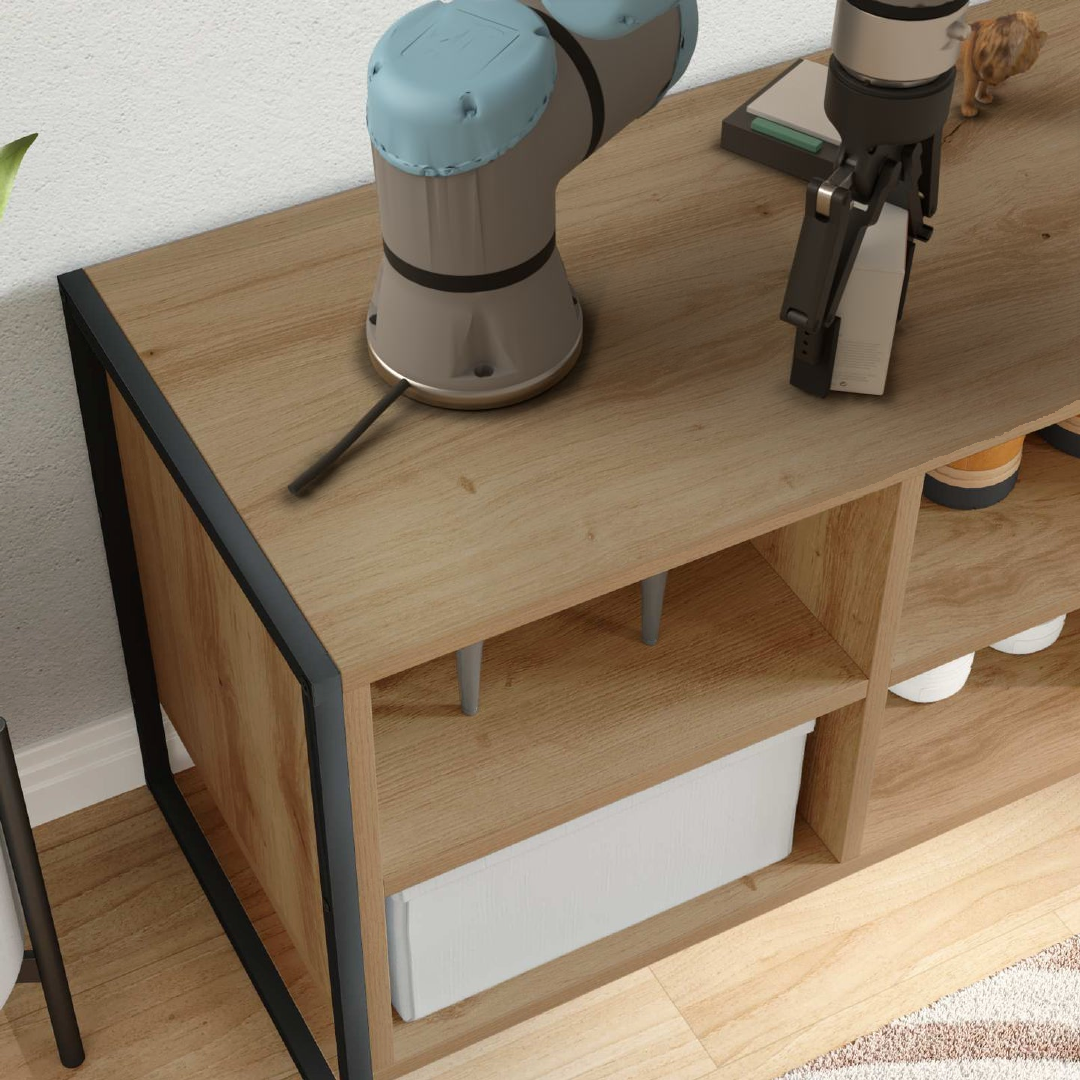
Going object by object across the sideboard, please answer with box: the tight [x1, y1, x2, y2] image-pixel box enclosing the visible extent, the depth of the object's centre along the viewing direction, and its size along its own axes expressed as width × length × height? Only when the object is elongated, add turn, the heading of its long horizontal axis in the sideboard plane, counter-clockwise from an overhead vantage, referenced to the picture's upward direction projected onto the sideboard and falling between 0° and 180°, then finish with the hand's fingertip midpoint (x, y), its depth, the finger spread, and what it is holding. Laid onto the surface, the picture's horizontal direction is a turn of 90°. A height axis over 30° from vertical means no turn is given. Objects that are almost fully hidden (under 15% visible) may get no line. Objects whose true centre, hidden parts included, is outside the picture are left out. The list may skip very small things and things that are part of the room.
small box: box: [830, 200, 909, 396], centre depth 106 cm, size 8×6×10 cm
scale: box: [719, 58, 842, 183], centre depth 128 cm, size 12×11×3 cm
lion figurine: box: [955, 9, 1049, 118], centre depth 131 cm, size 15×5×9 cm, turn 44°
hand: (846, 350), depth 110 cm, fingers closed on small box, 9 cm apart
